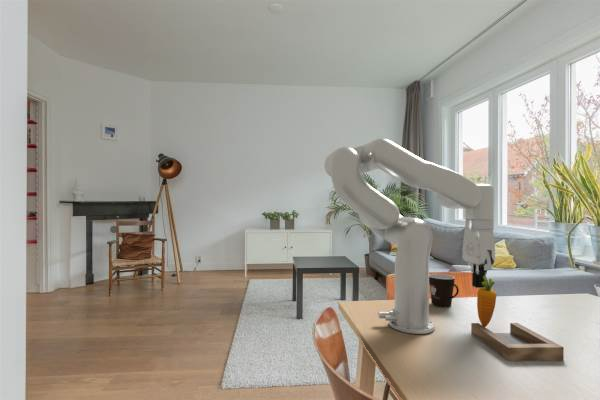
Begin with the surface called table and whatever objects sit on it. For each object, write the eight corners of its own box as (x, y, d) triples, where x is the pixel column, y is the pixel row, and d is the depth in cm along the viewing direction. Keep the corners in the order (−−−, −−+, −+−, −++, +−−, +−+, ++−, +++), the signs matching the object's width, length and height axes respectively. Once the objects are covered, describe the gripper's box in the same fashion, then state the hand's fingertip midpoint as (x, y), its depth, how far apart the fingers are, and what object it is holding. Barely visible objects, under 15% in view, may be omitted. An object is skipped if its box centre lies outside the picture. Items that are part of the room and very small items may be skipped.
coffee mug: (425, 300, 127) (426, 273, 127) (450, 301, 126) (450, 274, 126) (433, 310, 116) (433, 280, 116) (460, 311, 114) (461, 281, 114)
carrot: (496, 332, 97) (501, 280, 96) (477, 330, 98) (481, 279, 97) (490, 324, 102) (494, 275, 101) (472, 322, 103) (476, 273, 102)
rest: (508, 360, 79) (508, 347, 79) (471, 334, 95) (471, 323, 95) (563, 360, 80) (563, 347, 80) (517, 333, 95) (517, 322, 96)
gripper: (454, 223, 110) (454, 281, 110) (481, 227, 95) (481, 293, 95) (477, 224, 111) (477, 281, 111) (507, 227, 96) (507, 293, 96)
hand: (478, 286), depth 103 cm, fingers closed
